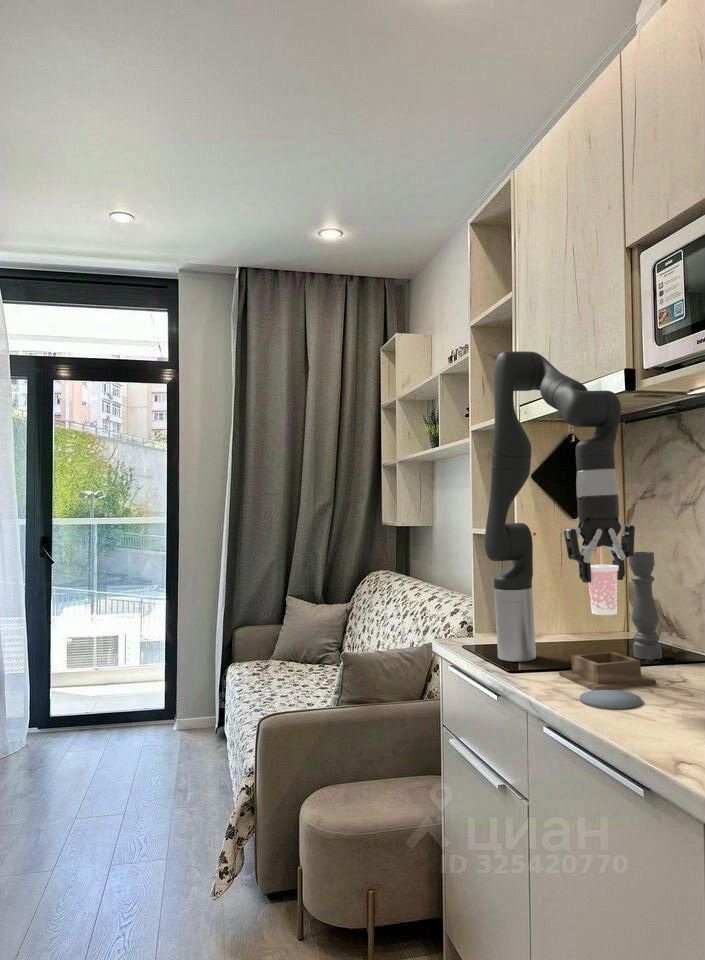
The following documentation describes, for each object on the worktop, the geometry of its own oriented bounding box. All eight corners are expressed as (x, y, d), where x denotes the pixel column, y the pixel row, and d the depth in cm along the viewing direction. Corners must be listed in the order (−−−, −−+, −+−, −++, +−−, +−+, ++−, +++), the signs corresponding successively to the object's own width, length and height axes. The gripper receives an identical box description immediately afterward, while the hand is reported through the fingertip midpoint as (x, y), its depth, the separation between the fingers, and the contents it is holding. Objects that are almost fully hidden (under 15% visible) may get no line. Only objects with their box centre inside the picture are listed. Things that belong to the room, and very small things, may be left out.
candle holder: (663, 655, 164) (656, 551, 165) (660, 661, 159) (653, 553, 160) (635, 653, 167) (629, 551, 168) (631, 659, 162) (625, 553, 163)
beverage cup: (609, 616, 126) (605, 541, 127) (580, 613, 131) (576, 540, 132) (628, 612, 130) (623, 539, 130) (599, 609, 135) (595, 538, 135)
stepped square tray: (559, 675, 150) (558, 654, 150) (616, 669, 153) (614, 648, 153) (594, 691, 137) (593, 668, 137) (656, 684, 140) (654, 661, 140)
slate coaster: (569, 696, 134) (568, 693, 134) (619, 690, 136) (618, 687, 136) (600, 712, 123) (600, 708, 123) (654, 705, 125) (654, 702, 125)
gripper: (619, 492, 136) (624, 576, 136) (553, 495, 133) (558, 581, 133) (642, 491, 129) (648, 580, 128) (573, 494, 126) (578, 585, 125)
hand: (602, 580), depth 131 cm, fingers closed on beverage cup, 6 cm apart
